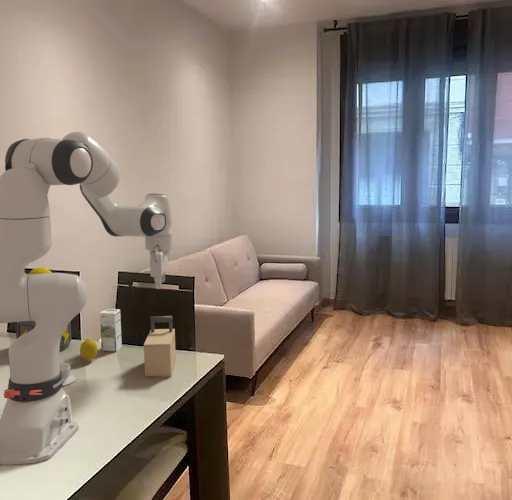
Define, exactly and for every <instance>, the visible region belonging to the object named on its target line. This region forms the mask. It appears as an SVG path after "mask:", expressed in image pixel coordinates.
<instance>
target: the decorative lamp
mask: <svg viewBox="0 0 512 500" xmlns="http://www.w3.org/2000/svg"><path fill="white" fill-rule="evenodd" d="M45 273H53V272H52V271H51V270H50V269H49V268H46V267H44V266H43V267H42V266H41V267H40V266H39V267H35V268H33V269H32V270H30V272H29V273H28V274H29V275H30V274H45ZM14 323H15V334H16V335H15V338H16V339H18V338H19V337H21V336H22V335H24V334H26V333H28V332H30V331H31V330H32V329H34V327H35V326H36V322H35V321H20V322H14ZM71 325H72V324H71V321H70V322H69V323H68V325H67V326H66V328H65V329H64V331H63V334H62V337H61V340H60V349H59V353H60V352H63V351H65V350H67V349H68V348H69V347H70V346H71V342H72V331H71V329H72V328H71Z"/></svg>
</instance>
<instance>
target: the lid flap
mask: <svg viewBox="0 0 512 500" xmlns="http://www.w3.org/2000/svg"><path fill="white" fill-rule="evenodd" d="M149 321H150V330H149V333H148V335H147V337H146V339H145V341H144V343H143V347H144V346H170V344H171V341H172V338H173V335H174V332H175V333H176V331H175V330H176V329H175V328H173V315H163V316H162V315H160V316H159V315H156V316H154V315H151V316H150V320H149ZM155 323H168V328H157V329H156V328H155Z"/></svg>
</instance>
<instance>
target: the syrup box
mask: <svg viewBox="0 0 512 500" xmlns="http://www.w3.org/2000/svg"><path fill="white" fill-rule="evenodd" d="M121 316H122V315H121V309H119V308H117V309H115V308H113V309H112V308H105V309H103V310H101V312H99V325H100V343H101V352H110V353H113V352H118V351H120V350H121V349H122V347H123V343H122V340H123V339H122V325H121V323H122V322H121V320H122V319H121Z"/></svg>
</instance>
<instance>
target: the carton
mask: <svg viewBox="0 0 512 500" xmlns="http://www.w3.org/2000/svg"><path fill="white" fill-rule="evenodd" d="M143 355H144V359H143V361H144V363H143V364H144V379H152V378H154V379H155V378H172V375H173V372H174V371H173V370H174V367H175V363H176V331H175V332H174V335H173V338H172V341H171V344H170V346H144V345H143Z"/></svg>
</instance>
